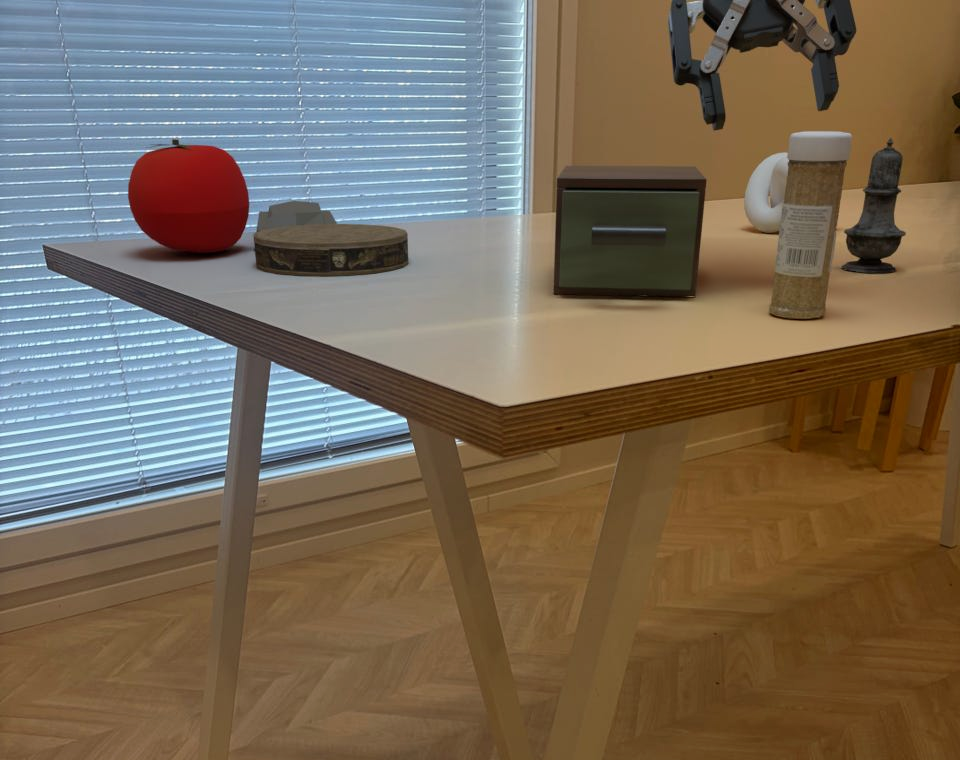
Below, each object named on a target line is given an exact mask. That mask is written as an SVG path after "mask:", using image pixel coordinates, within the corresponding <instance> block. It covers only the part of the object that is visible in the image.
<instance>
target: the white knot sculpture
mask: <svg viewBox="0 0 960 760" xmlns="http://www.w3.org/2000/svg"><path fill="white" fill-rule="evenodd" d="M787 155H788V152H777V153H774V154H771V155H770V156H768V157H766V158H764V159H763V160H762V161H761V162H760V163H759V164H758V165H757V166H756V168H755V169H754V171H753V172H752V173H751V176H750V178H749V179H748V183H747V186H746V189H745V192H744V200H743V201H744V202H743V204H744V206H743V207H744V212H745V217H746V219H747V220H748V222H749V224H751V226H752V227H754V229H755V230H756V231H759V232H761V233H764V234H774V233H777V232H778V233H779V231H780V223H781V215H782V207H783V202H784V197H785V189H786V183H787V175H788V162H789V160H788V158H787ZM769 202H770V203H769Z"/></svg>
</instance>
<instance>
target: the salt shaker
mask: <svg viewBox="0 0 960 760" xmlns="http://www.w3.org/2000/svg"><path fill="white" fill-rule="evenodd" d="M886 144H887V145H886V147H884V148H883V149H880V150H878V151H876V152H875V153H873V156H872V158H871V162H870V163H871V164H870V170H869V175H868V180H867V186H866V187H864V188H863V189H862V192H863V193H864V201H863V205H862V206H863V207H862V212H861V215H860V216H859V219H858V222H857V223H856V224H855V225H853V226H852V227H850V228H846V229H844V231H843V233H844V234H845V235H846V238H845V243H846V248H847V251H848V252H849V253H850V255H852V256H854V257H856V258H858V260H851V261H847V262H846V263H844V264H842V265H841V267H842V268H843V269H842V268H841V269H842V270H844V269H846V270H845V271H847V270H850V271H849V272H852V271H856V272H855V273H861V272H862V273H863V274H890V273H895V272H896V271H897V268H896V267H895V266H893V264H892V263H889V262H885V261H882V260H883V259H887V258H890V257H891V256H892V255H894V254H895V253H896V252H897V251H898V250H899V247H900V245H901V243H902V238H903V237H905V236H906V234H907V232H906V231H904V230H901V229H900V228H899V227H898V226H897V225H896V223H895V210H896V204H897V198H898V195H899V193H902V190H901V189H900V188H899V182H900V178H901V172H902V166H903V160H904V159H903V158H904V157H903V154H902V153H901V152H900V151H899V150H897V149H895V147H893V144H894V140H893V139H892V137H890V138H889V139H888V140H887V141H886Z"/></svg>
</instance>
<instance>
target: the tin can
mask: <svg viewBox="0 0 960 760" xmlns="http://www.w3.org/2000/svg"><path fill="white" fill-rule="evenodd" d="M408 239H409V238H408V232H407V230H406V229H404V228H399V227H394V226H386V225H380V224H379V225H378V224H377V225H376V224H363V223H362V224H361V223H360V224H359V223H337V224H315V225H298V226H288V227H278V228H272V229H267V230H262V231H259V232H256V231H255V232H254V233H253V244H254V246H253V247H255V251H254V254H255V255H254V256H255V265H256V266H255V267H256V269H259V270H261V271H263V272H267V273H273V274H276V275H277V274H279V275H289V276H301V277H302V276H306V277H307V276H309V277H337V276H338V277H339V276H341V277H342V276H356V275H357V276H358V275H370V274H379V273H385V272H391V271H394V270H398V269H401V268H404V267H406V266H408V264H409V240H408Z"/></svg>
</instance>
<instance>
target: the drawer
mask: <svg viewBox="0 0 960 760" xmlns="http://www.w3.org/2000/svg"><path fill="white" fill-rule="evenodd" d="M699 194H700V193H699V192H698V191H688V190H687V189H627V188H574V189H573V190H563V195H562V224H561V253H560V282H559V287H572V288H621V289H669V290H690V289H691V280H692V269H693V259H694V248H695V237H696V227H697V216H698V205H699Z"/></svg>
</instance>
